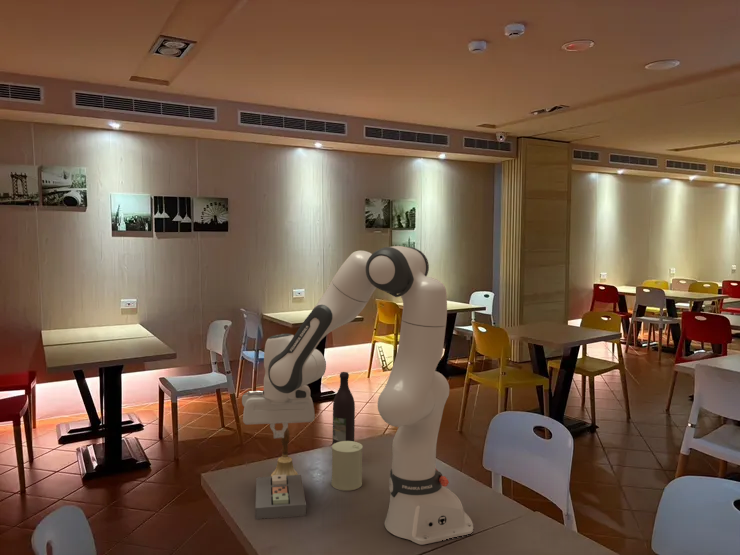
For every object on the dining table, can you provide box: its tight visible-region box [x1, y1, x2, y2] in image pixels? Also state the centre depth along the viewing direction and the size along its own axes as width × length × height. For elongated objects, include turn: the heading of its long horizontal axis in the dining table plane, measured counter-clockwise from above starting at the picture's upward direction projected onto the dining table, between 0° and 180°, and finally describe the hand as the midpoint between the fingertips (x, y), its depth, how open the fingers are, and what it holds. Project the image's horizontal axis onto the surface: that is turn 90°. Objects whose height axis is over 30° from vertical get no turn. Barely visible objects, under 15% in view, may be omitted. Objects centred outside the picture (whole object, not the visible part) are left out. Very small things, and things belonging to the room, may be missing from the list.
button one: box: [272, 475, 287, 485], centre depth 163 cm, size 4×4×3 cm
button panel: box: [255, 474, 307, 520], centre depth 157 cm, size 13×19×3 cm
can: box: [330, 440, 364, 492], centre depth 169 cm, size 9×9×12 cm
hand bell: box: [270, 426, 299, 477], centre depth 173 cm, size 8×8×16 cm
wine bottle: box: [332, 371, 356, 445], centre depth 183 cm, size 7×7×30 cm
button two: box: [273, 493, 288, 505], centre depth 151 cm, size 4×4×3 cm
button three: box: [272, 486, 287, 495], centre depth 157 cm, size 4×4×3 cm
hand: (278, 437), depth 162 cm, fingers closed
